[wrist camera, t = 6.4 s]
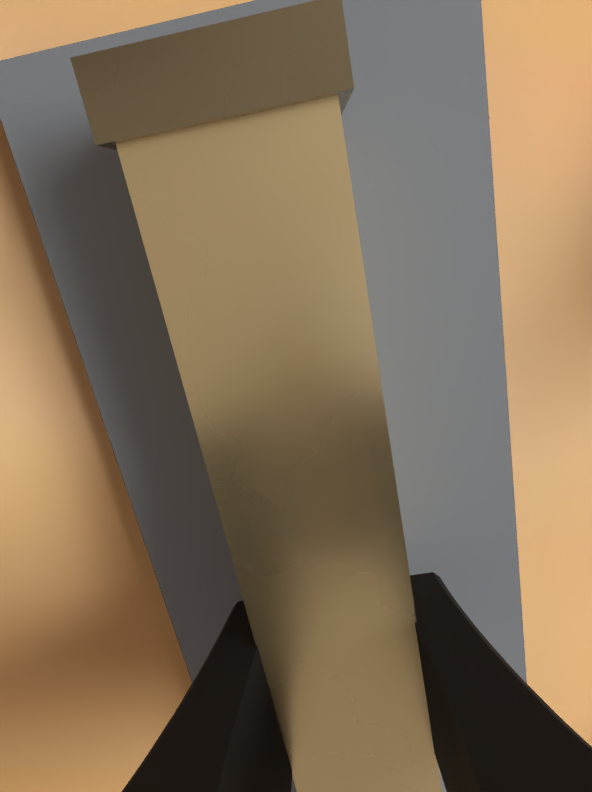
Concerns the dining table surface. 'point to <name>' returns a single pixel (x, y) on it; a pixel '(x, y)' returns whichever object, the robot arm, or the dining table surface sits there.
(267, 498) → the rail
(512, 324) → the dining table surface
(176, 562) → the mat
